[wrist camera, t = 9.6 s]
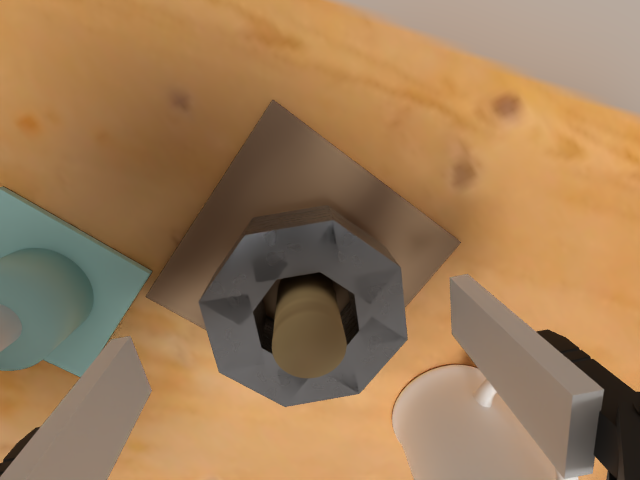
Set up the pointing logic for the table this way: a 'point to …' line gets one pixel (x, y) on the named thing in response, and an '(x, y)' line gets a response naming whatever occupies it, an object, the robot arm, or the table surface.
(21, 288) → the stand
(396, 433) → the mug
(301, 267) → the clutch ring
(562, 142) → the table surface
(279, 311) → the hub
